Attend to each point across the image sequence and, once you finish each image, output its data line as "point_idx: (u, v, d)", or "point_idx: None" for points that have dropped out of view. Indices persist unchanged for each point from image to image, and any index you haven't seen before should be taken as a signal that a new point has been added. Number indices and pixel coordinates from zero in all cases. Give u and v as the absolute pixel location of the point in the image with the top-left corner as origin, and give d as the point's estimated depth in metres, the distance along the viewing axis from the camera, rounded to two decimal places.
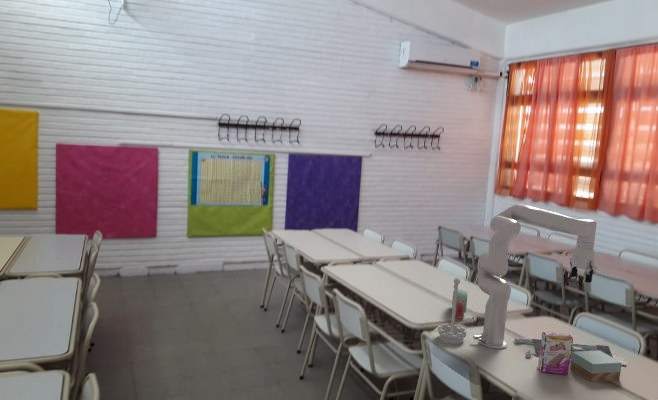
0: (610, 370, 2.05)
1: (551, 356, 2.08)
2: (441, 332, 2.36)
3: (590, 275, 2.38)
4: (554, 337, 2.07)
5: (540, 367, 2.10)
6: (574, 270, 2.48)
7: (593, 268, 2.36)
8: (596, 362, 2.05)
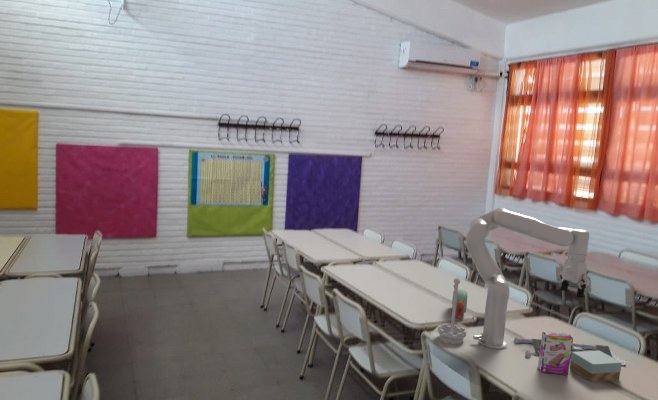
0: (610, 370, 2.05)
1: (551, 356, 2.08)
2: (441, 332, 2.36)
3: (582, 290, 2.22)
4: (554, 337, 2.07)
5: (540, 367, 2.10)
6: (564, 283, 2.31)
7: (585, 282, 2.19)
8: (596, 362, 2.05)
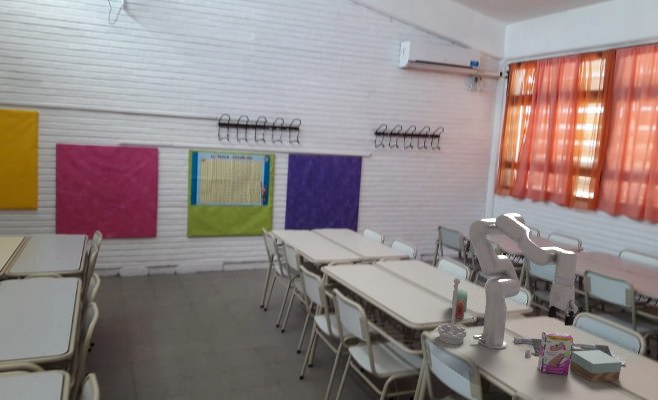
0: (610, 370, 2.06)
1: (551, 356, 2.08)
2: (441, 332, 2.36)
3: (570, 317, 2.02)
4: (554, 337, 2.07)
5: (540, 367, 2.10)
6: (552, 310, 2.12)
7: (573, 309, 2.00)
8: (596, 362, 2.05)
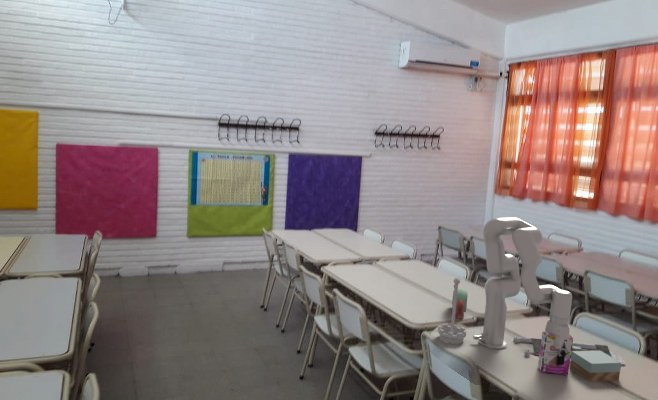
0: (609, 370, 2.06)
1: (551, 356, 2.08)
2: (441, 332, 2.36)
3: (562, 357, 2.06)
4: None
5: (540, 367, 2.10)
6: None
7: (566, 351, 2.03)
8: (595, 362, 2.05)
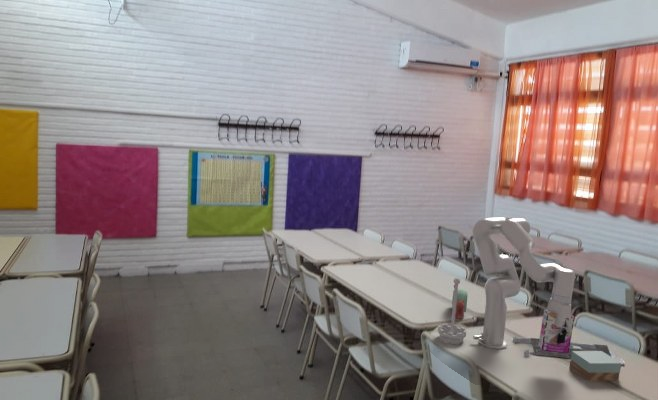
0: (609, 370, 2.05)
1: (552, 335, 2.08)
2: (441, 332, 2.36)
3: (563, 335, 2.05)
4: None
5: (541, 345, 2.10)
6: None
7: (567, 329, 2.03)
8: (594, 362, 2.05)
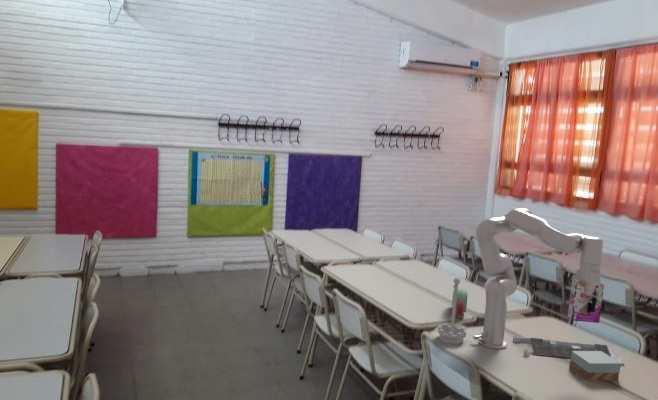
0: (608, 370, 2.05)
1: (581, 304, 2.05)
2: (441, 332, 2.36)
3: (593, 304, 2.03)
4: None
5: (570, 315, 2.08)
6: None
7: (597, 297, 2.01)
8: (594, 362, 2.05)
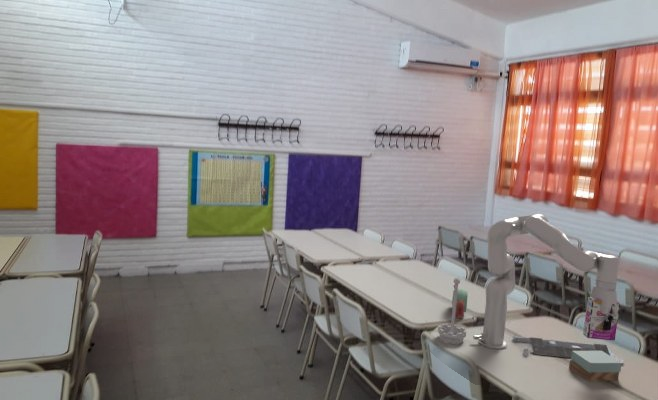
0: (609, 370, 2.05)
1: (597, 322, 2.06)
2: (441, 332, 2.36)
3: (609, 322, 2.04)
4: None
5: (586, 333, 2.09)
6: None
7: (613, 315, 2.02)
8: (594, 361, 2.05)
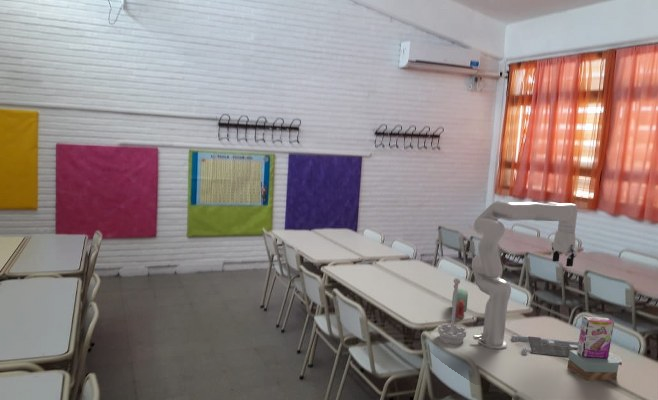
0: (606, 370, 2.06)
1: (592, 341, 2.08)
2: (441, 332, 2.36)
3: (571, 259, 2.37)
4: (596, 322, 2.07)
5: (581, 352, 2.10)
6: (556, 255, 2.47)
7: (574, 252, 2.35)
8: (591, 361, 2.06)
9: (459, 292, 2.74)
